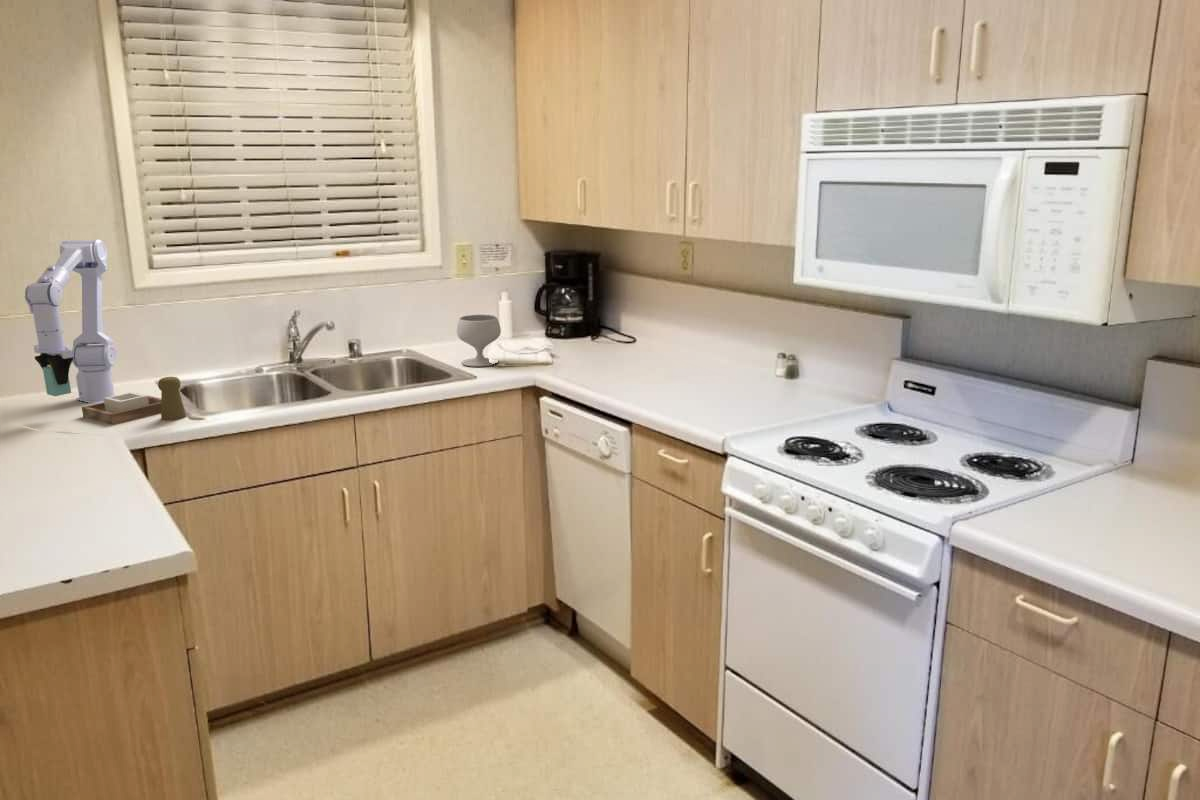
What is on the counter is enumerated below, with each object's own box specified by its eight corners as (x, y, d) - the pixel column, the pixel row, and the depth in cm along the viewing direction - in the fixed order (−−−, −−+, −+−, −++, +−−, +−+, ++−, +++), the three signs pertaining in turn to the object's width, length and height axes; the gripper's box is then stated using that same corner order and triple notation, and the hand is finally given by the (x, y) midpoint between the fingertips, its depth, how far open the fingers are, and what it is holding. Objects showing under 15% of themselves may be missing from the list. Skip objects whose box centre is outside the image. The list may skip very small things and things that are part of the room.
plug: (47, 394, 235) (42, 365, 233) (63, 390, 238) (58, 362, 237) (55, 396, 233) (50, 367, 231) (71, 392, 236) (66, 364, 234)
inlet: (106, 414, 241) (103, 398, 240) (133, 408, 247) (131, 392, 246) (122, 418, 237) (119, 401, 236) (149, 412, 243) (147, 395, 242)
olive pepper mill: (191, 415, 240) (186, 374, 238) (178, 422, 235) (173, 380, 232) (169, 415, 241) (163, 374, 238) (156, 421, 235) (150, 380, 232)
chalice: (452, 361, 301) (450, 316, 297) (492, 357, 307) (490, 312, 303) (467, 370, 289) (465, 322, 285) (508, 365, 295) (506, 318, 291)
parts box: (83, 418, 239) (81, 407, 238) (141, 404, 252) (140, 393, 251) (113, 426, 232) (111, 414, 231) (172, 411, 245) (170, 400, 244)
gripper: (18, 330, 232) (27, 382, 236) (47, 335, 225) (56, 389, 228) (46, 325, 238) (55, 377, 242) (76, 331, 230) (85, 383, 234)
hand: (58, 382), depth 235 cm, fingers closed on plug, 4 cm apart
